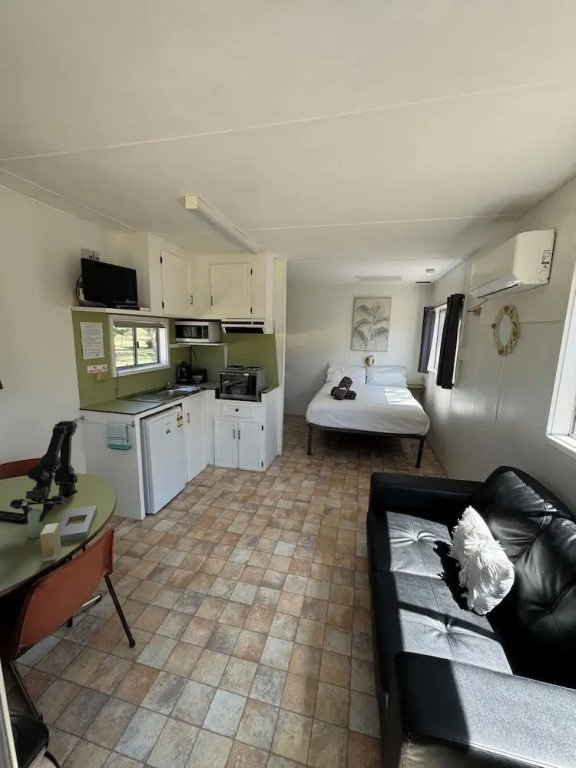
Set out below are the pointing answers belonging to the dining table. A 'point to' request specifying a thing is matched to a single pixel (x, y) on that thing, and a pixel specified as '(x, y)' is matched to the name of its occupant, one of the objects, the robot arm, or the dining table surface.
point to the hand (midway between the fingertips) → (33, 523)
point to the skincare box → (50, 542)
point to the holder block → (77, 523)
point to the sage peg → (34, 523)
